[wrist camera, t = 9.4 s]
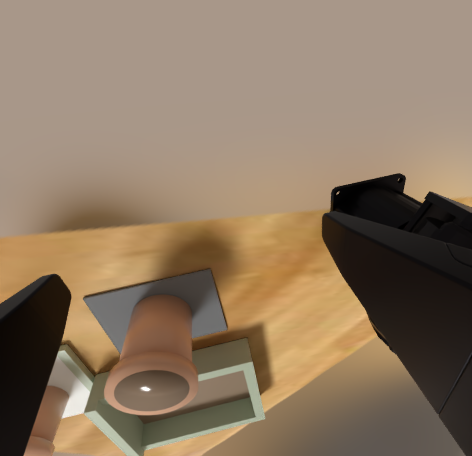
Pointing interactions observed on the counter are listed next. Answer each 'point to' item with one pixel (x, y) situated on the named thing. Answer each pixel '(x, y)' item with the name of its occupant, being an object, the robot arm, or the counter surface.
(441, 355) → the robot arm
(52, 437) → the pot
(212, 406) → the green shallow rectangular frame
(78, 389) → the white square board
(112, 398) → the pot
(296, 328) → the counter surface
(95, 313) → the mat
